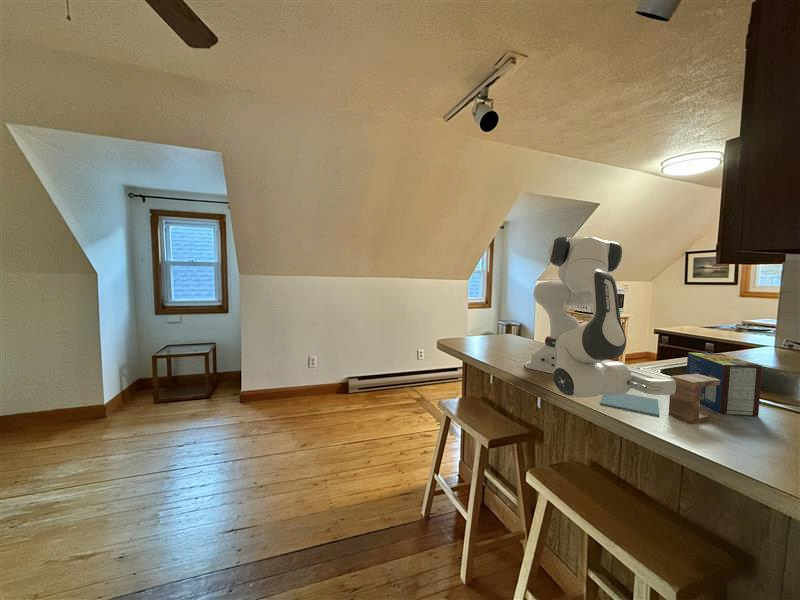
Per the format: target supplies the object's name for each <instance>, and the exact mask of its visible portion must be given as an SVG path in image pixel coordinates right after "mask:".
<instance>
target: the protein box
mask: <svg viewBox="0 0 800 600" xmlns="http://www.w3.org/2000/svg"><path fill="white" fill-rule="evenodd" d="M686 361H687V362H686V374H685V375H688V374H700V375H704V376H708V377H711V378H715V379H719V380H720V385H716V386H705V387H701V396H700V406H701V405H702V406H703V407H705V408H707V409H708V408H709V410H710V409H711V411H712V410H713V411H712V412H714V413H717V414H718V413H719V414H718V415H725V414H733V415H732V416H743V415H745V416H744V417H746V416H747V417H759V413H760V399H761V390H762V389H761V388H762V375H763V365H761V364H758V363H755V362H751V361H747V360H744V359H740V358H737V357H733V356H730V355H727V354H724V353H712V352H710V353H708V352H707V353H706V352H705V353H704V352H687V360H686Z"/></svg>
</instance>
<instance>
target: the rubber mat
mask: <svg viewBox="0 0 800 600" xmlns="http://www.w3.org/2000/svg"><path fill="white" fill-rule="evenodd" d="M601 396H602V397H601V400H600V402H599V405H601V406H605V407H609V408H610V407H611V408H614V409H615V408H616V409H621V410H625V411H628V412H629V411H630V412H635V413H638V412H640V414H643V413H645V414H644V415H648V414H649V415H648V416H653V417H654V416H655V417H659V418H660V408H659V399H657V398H653V397H647V396H640V395H636V394H635V395H634V394H629V393H625V394H619V395H608V396H605V395H601Z"/></svg>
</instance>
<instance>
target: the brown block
mask: <svg viewBox="0 0 800 600" xmlns="http://www.w3.org/2000/svg"><path fill="white" fill-rule="evenodd" d="M670 377H673V378H674V380H675V381H676V391H675V394H672V395H669V402H668V404H669V405H668V416H670V417H672V418H675V419H677V420H679V421H682V422H684V423H687V424H689V425H693V424H701V423H709V422H716V421H718V415H716V414H714V413H711V412H709V411H705V410H703V409H700V406H701V404H700V396H701V387H705V386H716V385H720V380H719V379H715V378H711V377H708V376H704V375H700V374H688V375H686V374H679V375H676V374H675V375H671V376H670Z"/></svg>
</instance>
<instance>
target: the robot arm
mask: <svg viewBox="0 0 800 600" xmlns="http://www.w3.org/2000/svg"><path fill="white" fill-rule="evenodd" d="M548 258H549V262H550V263H551V264H552V265H554V266H556V267H558V270H557V276H558V278H559V280H548V281H547V280H546V281H542V282H541V281H540V282H538V283H537V284H536V286H535V288H534V290H533V299H534V300H535V302H536V303H537V304H539V306H541V307H542V308H543V309H544V310H545V312H546V313H547V316H548V318H549V335H547V336H546V337H545V339H544V345H542V346H540V347H539V348H537V349H536V350H535V351H533V352H532V353H531V356H530V360H528V361H526V362H524V367H525V368H526V369H529V370H535V371H538V372H544V373H548V374H552V378H553V383H554V384H555V386H556V388H557V389H558V390H559V392H561V393H562V394H563V395H565V396H568V397H572V398H593V397H594V398H595V397H598V396H600V395H601V396H603V395H605V396H608V395H619V394H628V392H629V391H630V390H631V389H632V390H635V391H638V392H640V393H641V392H642V393H643V394H648V395H654V396H667V395H668V396H670V395H672V394H675V391H676V381H675V380H674V378H673V377H671V376H670V375H660V374H656V373H652V372H650V371H646V370H644V369H643V370H642V369H641V368H640V367H638V366H634V365H633V366H630V365H629V366H628V365H625V364H624V363H623V362H620V361H618V360H614V359H617V358H619V357H620V356H622V355H623V353H624V351H625V349H626V345H627V336H626V333H625V330H624V327H623V325H622V320H621V318H622V317H621V311H620V303H619V302H620V301H619V295H618V289H617V283H616V280H615V279H614V277H613V275H612V274H610V273H612V272H614V271H615V270H618V269H617V268H618V267H619V265H620V264H621V263H622V260H623V248H622V245H621V244H619V242H616V241H613V240H612V241H611V240H604V239H600V238H597V237H595V236H584V235H581V236H580V235H579V236H576V237H575V236H574V237H572V236H571V237H568V236H559V237H556V238H554V239H553V241H552V243H551V244H550V246H549V249H548ZM591 306H592V316H591V318H590V320H589V321H587V322H586V323H585V324H583V325H581V326H580V322H579V320H578V319H577V318H576V317H574V316H573V315H572V314H569V313H568V312H566V311H565V307H567V308H568V307H573V308H574V307H575V308H579V307H580V308H583V307H591Z"/></svg>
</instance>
